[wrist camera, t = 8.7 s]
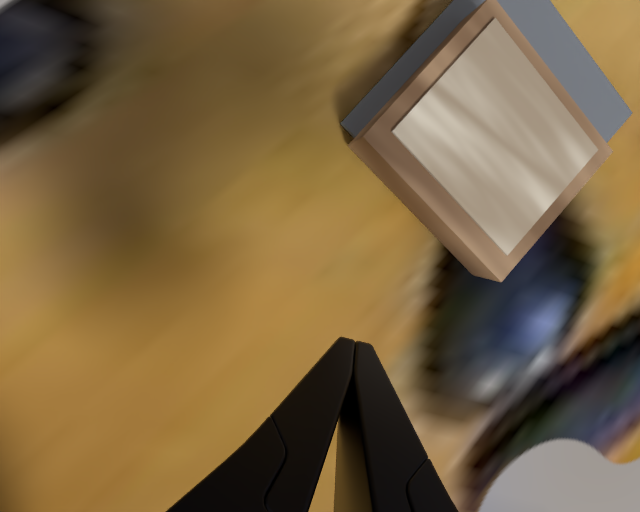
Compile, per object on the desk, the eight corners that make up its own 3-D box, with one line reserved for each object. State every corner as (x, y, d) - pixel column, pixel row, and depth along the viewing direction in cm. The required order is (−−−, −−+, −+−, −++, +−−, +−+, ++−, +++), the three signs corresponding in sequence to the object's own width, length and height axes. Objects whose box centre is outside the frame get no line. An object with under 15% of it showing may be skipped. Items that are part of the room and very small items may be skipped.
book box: (503, 282, 20) (615, 151, 21) (363, 136, 18) (494, -8, 18) (472, 274, 23) (573, 157, 23) (347, 145, 20) (462, 20, 21)
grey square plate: (487, 277, 23) (490, 278, 23) (340, 123, 21) (341, 122, 20) (627, 114, 24) (632, 113, 24) (503, -55, 21) (507, -58, 21)
